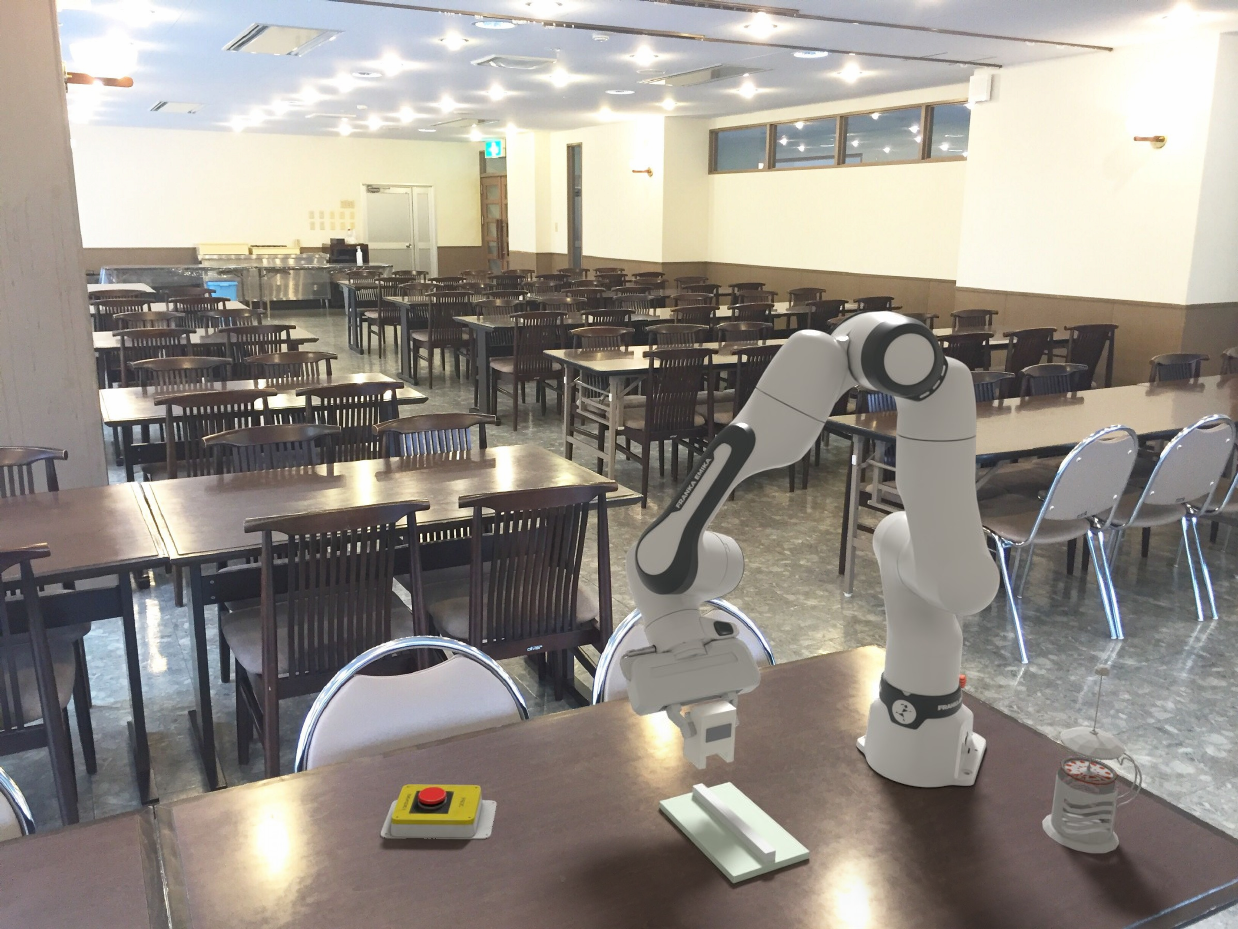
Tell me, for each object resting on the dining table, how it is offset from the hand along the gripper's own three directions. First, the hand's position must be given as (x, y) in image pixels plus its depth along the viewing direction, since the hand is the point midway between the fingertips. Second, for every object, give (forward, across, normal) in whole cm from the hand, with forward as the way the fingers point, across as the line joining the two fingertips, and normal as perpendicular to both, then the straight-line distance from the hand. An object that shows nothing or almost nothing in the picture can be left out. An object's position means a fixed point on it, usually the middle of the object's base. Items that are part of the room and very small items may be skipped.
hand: (712, 731), depth 138 cm
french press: (+28, +45, -10) cm, 54 cm away
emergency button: (-1, -35, +20) cm, 40 cm away
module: (+3, 0, +4) cm, 4 cm away
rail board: (+13, 0, +5) cm, 14 cm away
